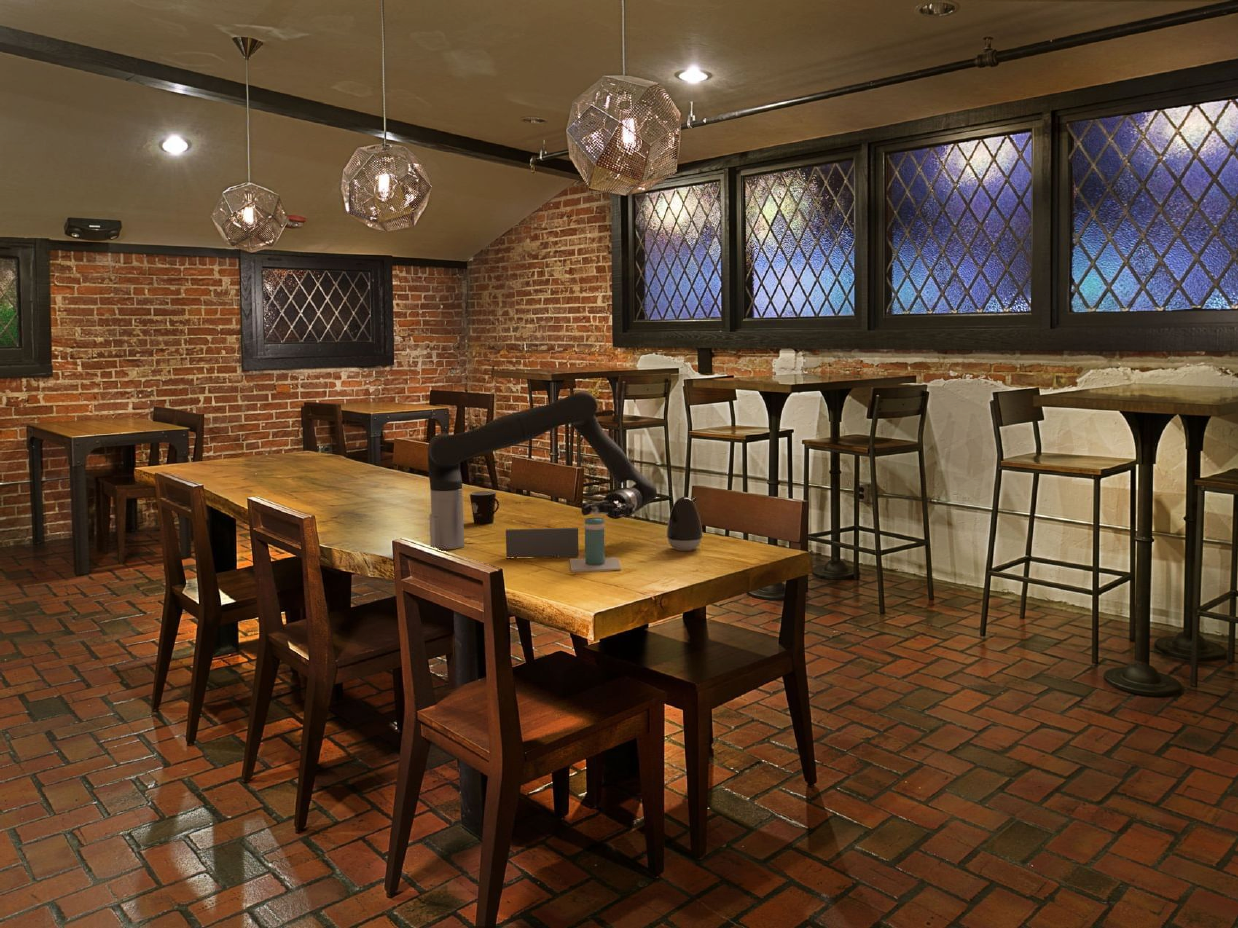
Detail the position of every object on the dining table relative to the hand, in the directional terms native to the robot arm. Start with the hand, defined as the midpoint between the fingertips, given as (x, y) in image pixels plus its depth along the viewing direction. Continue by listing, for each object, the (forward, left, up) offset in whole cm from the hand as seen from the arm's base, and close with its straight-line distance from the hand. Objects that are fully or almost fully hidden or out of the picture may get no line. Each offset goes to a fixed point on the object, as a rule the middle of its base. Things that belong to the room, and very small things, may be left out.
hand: (598, 512), depth 268 cm
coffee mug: (-12, +69, -14) cm, 72 cm away
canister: (-2, -3, -13) cm, 14 cm away
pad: (-3, -3, -14) cm, 14 cm away
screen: (-12, +13, -14) cm, 22 cm away
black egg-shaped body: (+28, +4, -14) cm, 32 cm away
